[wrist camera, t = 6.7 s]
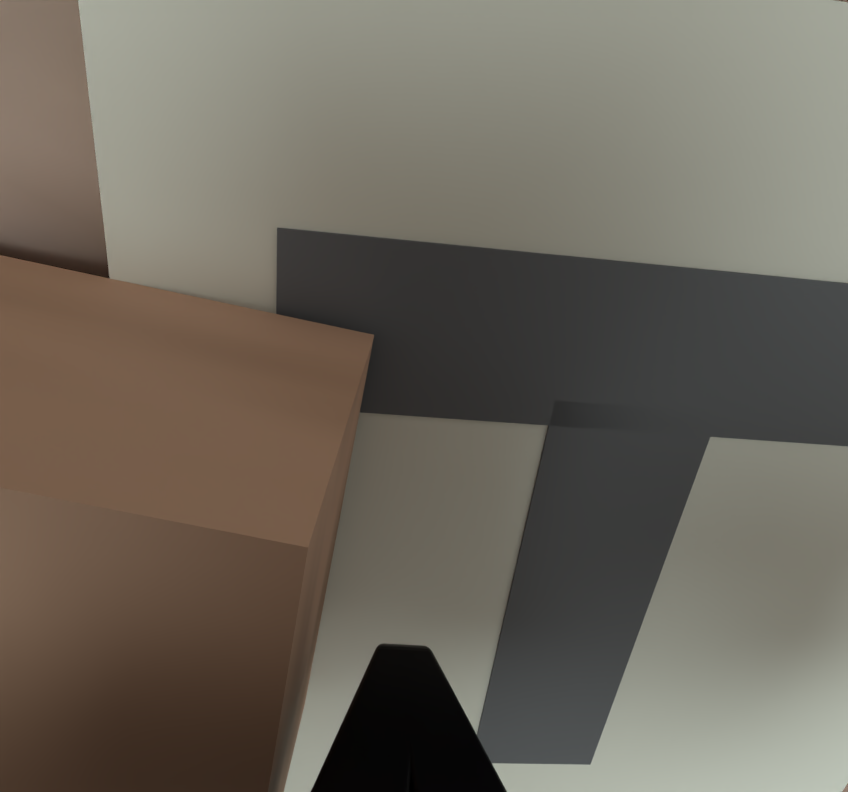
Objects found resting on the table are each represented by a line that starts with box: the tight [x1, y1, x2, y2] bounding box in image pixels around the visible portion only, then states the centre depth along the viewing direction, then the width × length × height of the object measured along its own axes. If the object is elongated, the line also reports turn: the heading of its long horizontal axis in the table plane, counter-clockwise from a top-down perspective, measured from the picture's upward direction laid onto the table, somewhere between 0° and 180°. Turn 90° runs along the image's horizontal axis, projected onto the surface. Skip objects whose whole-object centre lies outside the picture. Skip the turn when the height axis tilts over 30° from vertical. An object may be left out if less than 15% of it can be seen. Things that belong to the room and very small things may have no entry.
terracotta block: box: [0, 255, 374, 792], centre depth 8 cm, size 7×7×4 cm
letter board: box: [78, 0, 848, 792], centre depth 11 cm, size 16×14×1 cm
